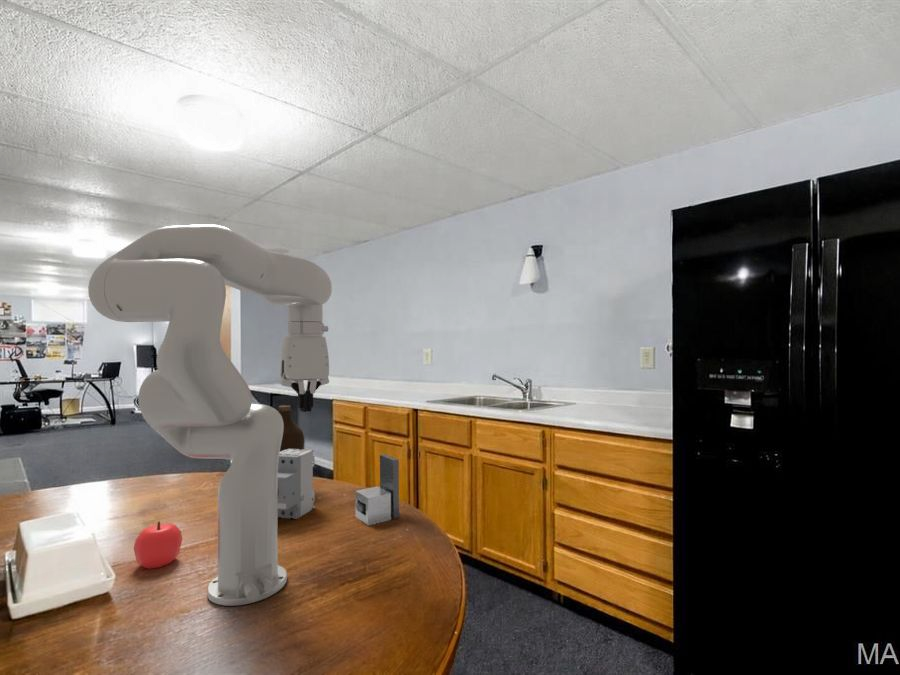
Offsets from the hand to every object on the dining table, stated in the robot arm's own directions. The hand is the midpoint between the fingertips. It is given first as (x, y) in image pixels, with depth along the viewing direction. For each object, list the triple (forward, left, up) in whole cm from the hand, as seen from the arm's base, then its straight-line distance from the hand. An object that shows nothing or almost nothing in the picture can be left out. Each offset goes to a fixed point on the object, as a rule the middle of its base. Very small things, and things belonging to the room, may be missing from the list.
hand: (305, 410), depth 104 cm
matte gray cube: (-2, -16, -27) cm, 31 cm away
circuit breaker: (+12, +1, -27) cm, 30 cm away
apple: (+2, +28, -27) cm, 39 cm away
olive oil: (+30, -4, -27) cm, 41 cm away
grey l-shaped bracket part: (-2, -17, -27) cm, 32 cm away
